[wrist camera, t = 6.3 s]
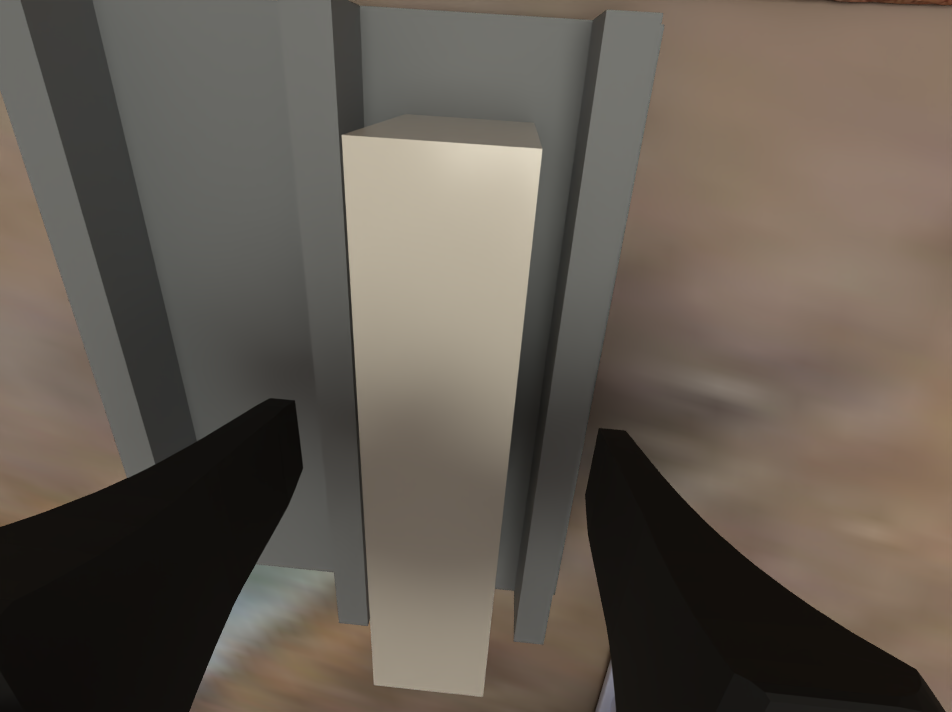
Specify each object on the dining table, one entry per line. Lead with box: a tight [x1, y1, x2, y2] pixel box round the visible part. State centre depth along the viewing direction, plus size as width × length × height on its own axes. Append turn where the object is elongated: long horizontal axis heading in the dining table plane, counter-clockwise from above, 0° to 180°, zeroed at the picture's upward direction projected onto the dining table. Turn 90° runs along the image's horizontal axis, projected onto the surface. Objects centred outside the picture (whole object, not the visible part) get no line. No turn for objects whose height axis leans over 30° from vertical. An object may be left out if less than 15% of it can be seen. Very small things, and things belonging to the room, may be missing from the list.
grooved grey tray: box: [0, 0, 664, 644], centre depth 15 cm, size 18×14×3 cm
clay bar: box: [342, 114, 542, 697], centre depth 13 cm, size 14×3×5 cm, turn 177°
